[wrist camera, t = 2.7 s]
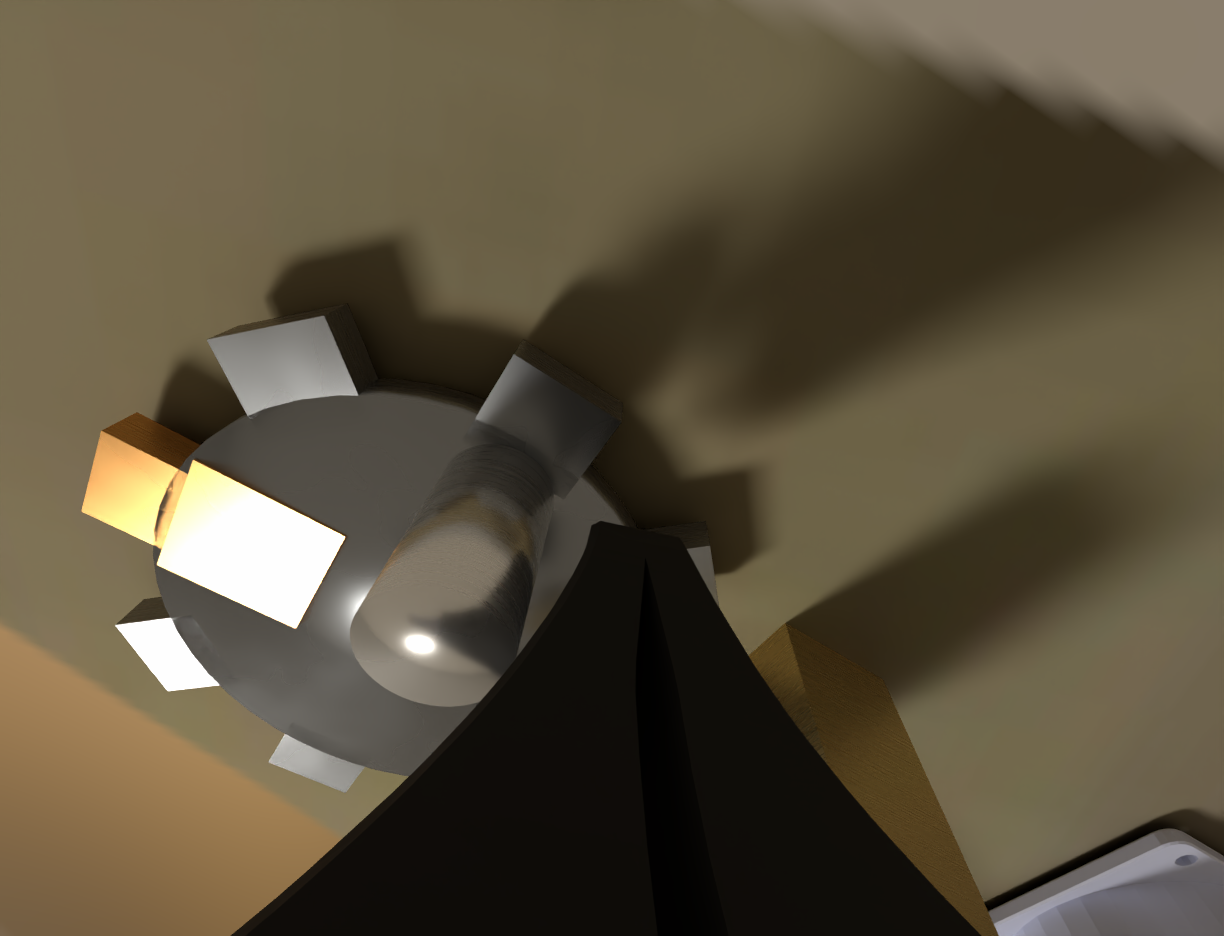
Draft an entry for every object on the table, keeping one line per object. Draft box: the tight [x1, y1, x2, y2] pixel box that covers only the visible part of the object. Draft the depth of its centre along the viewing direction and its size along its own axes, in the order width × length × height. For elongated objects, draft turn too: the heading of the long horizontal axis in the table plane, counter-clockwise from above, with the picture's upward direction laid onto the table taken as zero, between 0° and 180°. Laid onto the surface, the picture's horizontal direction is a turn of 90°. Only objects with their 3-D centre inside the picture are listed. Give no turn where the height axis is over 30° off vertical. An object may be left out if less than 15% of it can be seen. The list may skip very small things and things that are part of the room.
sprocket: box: [82, 303, 719, 793], centre depth 11 cm, size 12×12×4 cm
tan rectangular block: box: [749, 623, 999, 936], centre depth 12 cm, size 3×4×6 cm, turn 146°
